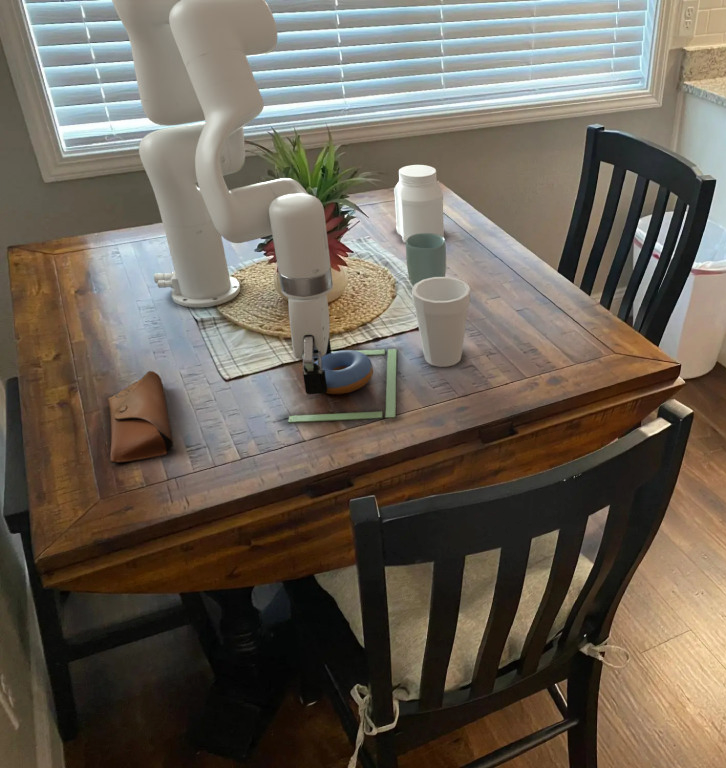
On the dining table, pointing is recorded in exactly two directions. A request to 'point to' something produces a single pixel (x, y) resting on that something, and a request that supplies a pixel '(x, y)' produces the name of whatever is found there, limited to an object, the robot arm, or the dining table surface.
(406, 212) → the jar
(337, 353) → the doughnut
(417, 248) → the cup
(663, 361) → the dining table surface
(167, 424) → the sunglasses case
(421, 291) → the foam cup
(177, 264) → the robot arm
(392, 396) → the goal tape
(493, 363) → the dining table surface
